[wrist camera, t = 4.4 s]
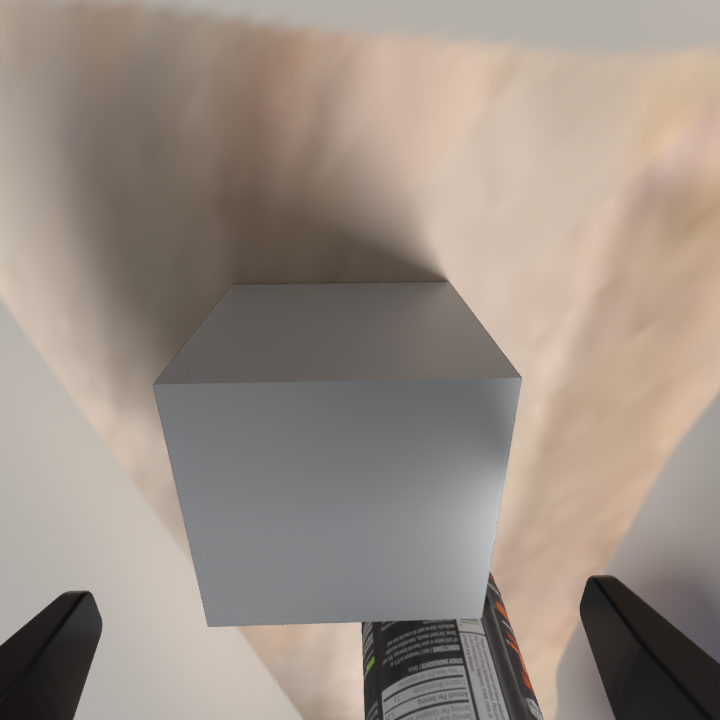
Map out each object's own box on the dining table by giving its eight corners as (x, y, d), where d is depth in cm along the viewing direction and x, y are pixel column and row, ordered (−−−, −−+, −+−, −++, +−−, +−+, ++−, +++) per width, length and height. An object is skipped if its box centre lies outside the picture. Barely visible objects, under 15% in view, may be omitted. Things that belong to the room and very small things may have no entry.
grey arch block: (435, 456, 17) (481, 618, 11) (254, 460, 17) (208, 627, 11) (449, 281, 14) (522, 377, 8) (232, 284, 14) (152, 384, 8)
